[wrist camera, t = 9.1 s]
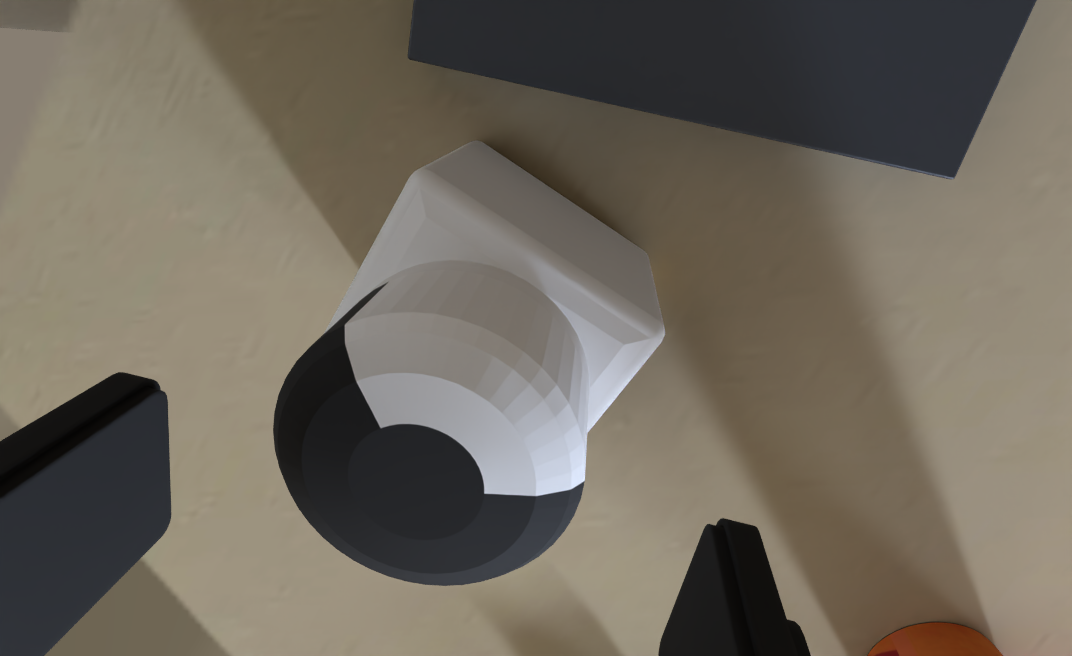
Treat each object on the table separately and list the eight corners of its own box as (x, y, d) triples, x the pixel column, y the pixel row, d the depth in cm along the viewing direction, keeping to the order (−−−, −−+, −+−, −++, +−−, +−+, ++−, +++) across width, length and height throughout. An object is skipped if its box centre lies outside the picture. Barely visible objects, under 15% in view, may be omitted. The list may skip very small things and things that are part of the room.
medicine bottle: (539, 403, 24) (483, 685, 13) (377, 303, 23) (170, 514, 12) (652, 254, 21) (701, 448, 10) (474, 134, 21) (321, 208, 9)
